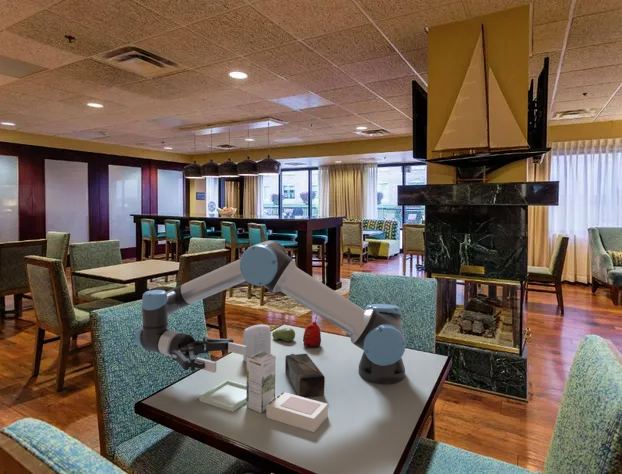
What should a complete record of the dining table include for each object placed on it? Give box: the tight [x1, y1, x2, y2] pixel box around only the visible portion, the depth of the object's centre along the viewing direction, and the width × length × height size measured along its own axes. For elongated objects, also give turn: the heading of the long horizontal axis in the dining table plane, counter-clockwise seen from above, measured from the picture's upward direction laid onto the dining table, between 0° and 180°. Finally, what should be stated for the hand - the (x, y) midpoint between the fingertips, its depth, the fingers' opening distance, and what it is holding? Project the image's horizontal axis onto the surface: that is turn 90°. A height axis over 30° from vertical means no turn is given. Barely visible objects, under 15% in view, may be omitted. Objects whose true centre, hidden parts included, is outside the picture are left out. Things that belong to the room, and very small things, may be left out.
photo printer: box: [242, 323, 272, 363], centre depth 140 cm, size 10×4×12 cm, turn 123°
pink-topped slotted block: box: [266, 391, 329, 433], centre depth 102 cm, size 14×8×4 cm, turn 62°
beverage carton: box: [284, 353, 326, 398], centre depth 122 cm, size 8×19×7 cm, turn 17°
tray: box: [198, 379, 247, 413], centre depth 113 cm, size 12×12×1 cm
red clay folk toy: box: [302, 314, 322, 348], centre depth 153 cm, size 8×7×15 cm
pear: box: [271, 327, 296, 343], centre depth 160 cm, size 6×5×10 cm
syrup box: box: [245, 351, 277, 414], centre depth 107 cm, size 6×6×14 cm
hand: (231, 358), depth 111 cm, fingers open, 13 cm apart
